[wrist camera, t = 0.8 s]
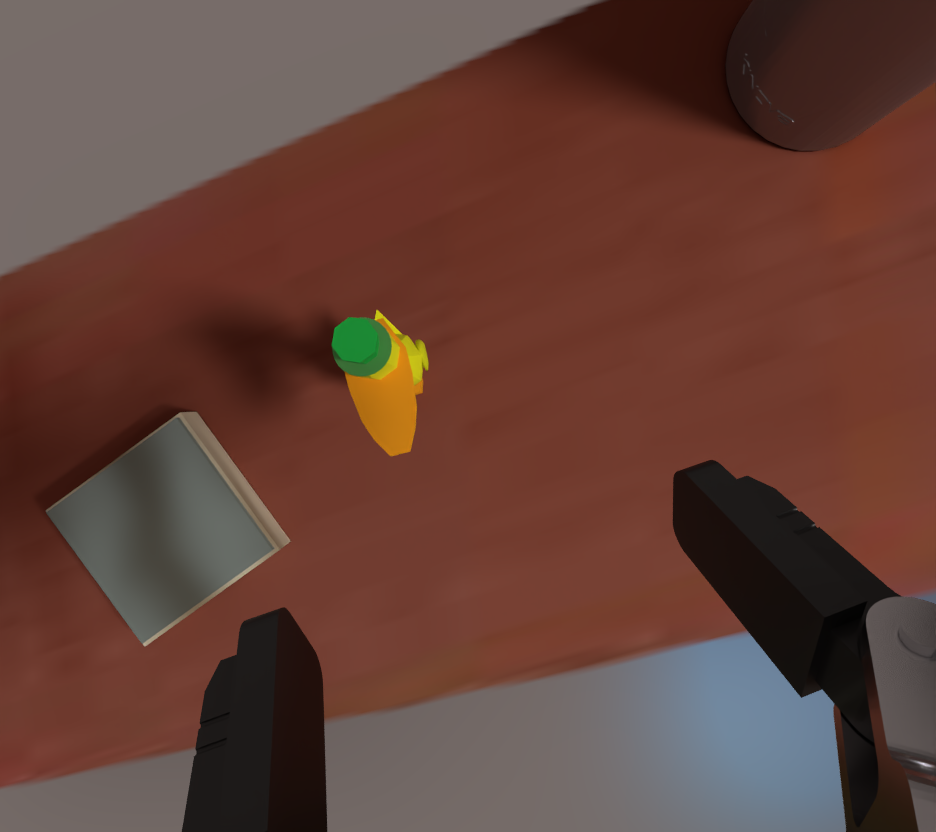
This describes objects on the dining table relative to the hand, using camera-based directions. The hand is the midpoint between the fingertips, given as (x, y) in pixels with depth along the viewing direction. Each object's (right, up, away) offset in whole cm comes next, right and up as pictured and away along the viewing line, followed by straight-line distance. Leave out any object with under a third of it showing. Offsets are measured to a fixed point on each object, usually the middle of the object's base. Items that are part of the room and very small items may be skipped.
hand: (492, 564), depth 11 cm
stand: (-17, -3, +20) cm, 26 cm away
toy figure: (-4, +5, +19) cm, 20 cm away
